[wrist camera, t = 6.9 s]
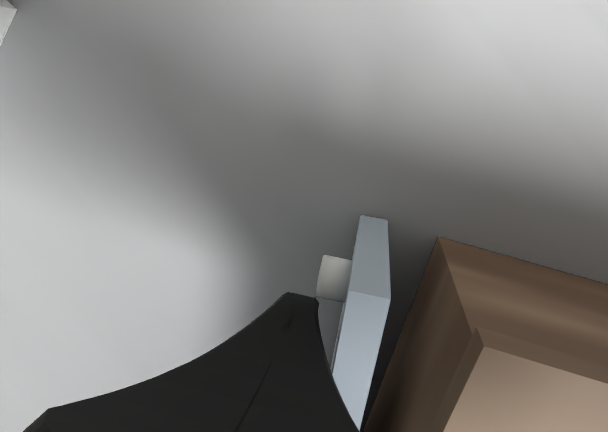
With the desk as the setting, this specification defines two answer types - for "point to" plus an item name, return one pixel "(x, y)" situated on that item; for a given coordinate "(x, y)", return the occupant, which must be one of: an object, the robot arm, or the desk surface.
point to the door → (358, 310)
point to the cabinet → (497, 350)
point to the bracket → (5, 17)
